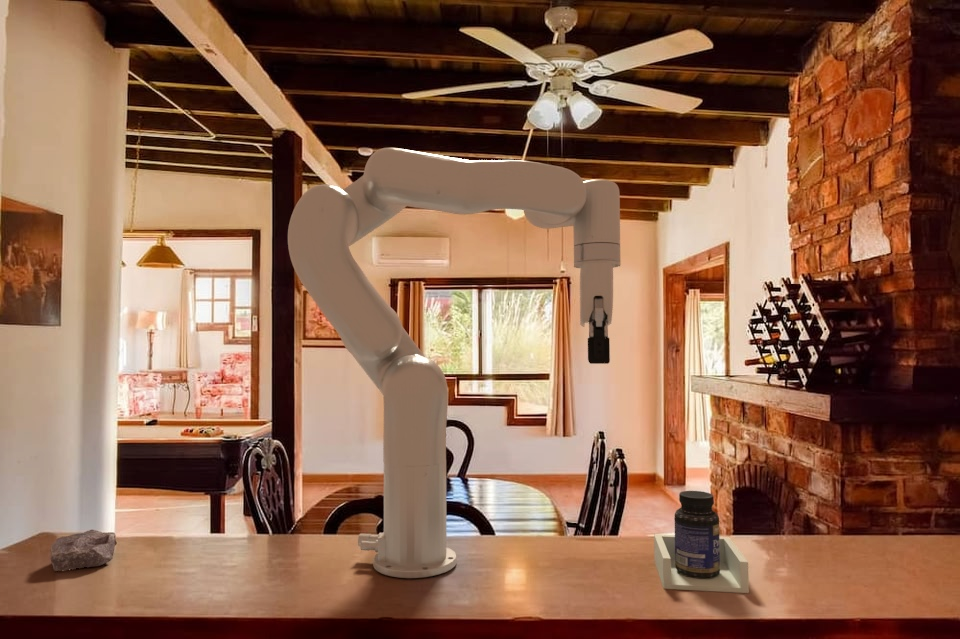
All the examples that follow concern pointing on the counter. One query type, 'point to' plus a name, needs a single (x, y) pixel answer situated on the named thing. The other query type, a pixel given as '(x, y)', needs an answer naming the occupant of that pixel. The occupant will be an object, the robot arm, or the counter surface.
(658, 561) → the holder
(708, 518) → the pill bottle
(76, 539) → the rock
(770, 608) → the counter surface
